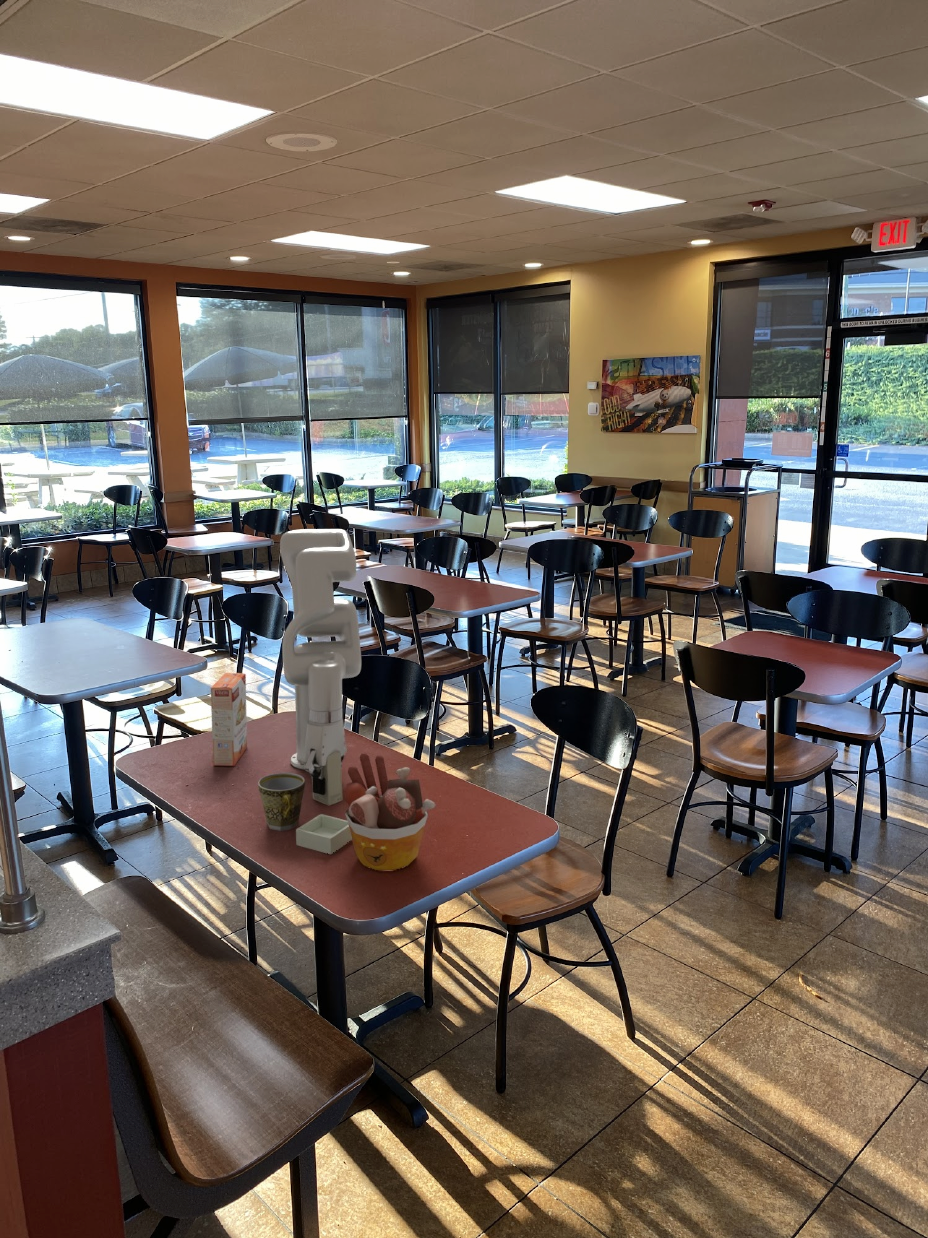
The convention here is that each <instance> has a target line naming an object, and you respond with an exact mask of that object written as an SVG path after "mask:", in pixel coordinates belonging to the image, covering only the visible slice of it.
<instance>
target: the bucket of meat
mask: <svg viewBox="0 0 928 1238" xmlns="http://www.w3.org/2000/svg"><path fill="white" fill-rule="evenodd" d="M359 760H360V766H361V768H362V771H363V776H364V780H365V781H363V778H362V776H361V774H360V772H359V770H358V768H357V767H356V766H354V765H351V766H349V767H348V769H347V775H348V776H349V778H350V780H351V782H349V783H347V784H346V786H345V788H344V790H343V793H344V798H345V802H346V804H347V805H348V806H349V808H348V809H347V810H346V811H345V812H344V813H345V817H346V820H347V821H348V824H349V828H350V832H351V836H352V840H351V841H352V845H353V848H354V852H355V856H356V857H357V859H358V860H359V862H360V863H361V864H362V865H363V866H364V867H365V866H367V867H370V868H373V869H375V870H374V871H376V870H395V871H397V870H396V869H399V868H402V867H404V866H407V867H408V866H409V865H410V864H411V863H412V862H413V861H414V860H415V859H416V858H417V857H418V856H419V852H420V846H421V843H422V840H423V839H422V838H423V834H424V831H425V826H426V822H427V819H428V816H429V814H428V810H433V809H434V808H435V807H436V804H435V802H434V801H432V800H430V799H429V798H426V799H425V800H424V801H423V796H422V790H421V784H420V780H419V779H408V776H409V775H410V773H411V769H410V767H407V766H405V767H402V768H399V769H396V771H395V774H396V775H397V776H398V778H395V779H394V778H392V779H388V774H387V768H386V763H385V758H384V757H383V756H382V755H378V754H377V755H376V756H375V761H374V762H375V766H376V772H377V776H378V781H379V786H380V793H381V795H380V794H379V791H378V790H379V789H378V787H377V784H376V780H375V776H374V775H375V774H374V772H373V768H372V764H371V760H370V756H369V755H368V754H367V753H366V752H363V753H361V754H360V756H359ZM364 782H365V783H364ZM365 784H366V785H365ZM367 867H366V868H367ZM370 868H369V869H370ZM373 869H372V870H373ZM402 869H403V868H402ZM399 870H400V869H399Z"/></svg>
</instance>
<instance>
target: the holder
mask: <svg viewBox="0 0 928 1238" xmlns="http://www.w3.org/2000/svg"><path fill="white" fill-rule="evenodd" d="M295 840H296V841H295V842H296V846H299V847H303V848H305V849H309V850H314V851H316V852H321V853H324V854H327V853H328V854H329V855H333V854H334V853H336V852H337V851H339V849H341V848H342V847H344V846H345V845H347V844H348V843H350V842H351V841H353V840H352V836H351V832H350V828H349V824H348V820H347V819H341V818H339V817H336V816H330V815H327V814H323V813H320V814H318V815H316V816H315V817H314V818H312V819H311V820H309V821H307V822H306V823H304V824H302V825H301V826H300V827H297V828H296V829H295ZM350 840H351V841H350ZM349 841H350V842H349ZM347 842H348V843H347ZM343 845H344V846H343ZM336 850H337V851H336ZM333 852H334V853H333Z"/></svg>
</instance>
